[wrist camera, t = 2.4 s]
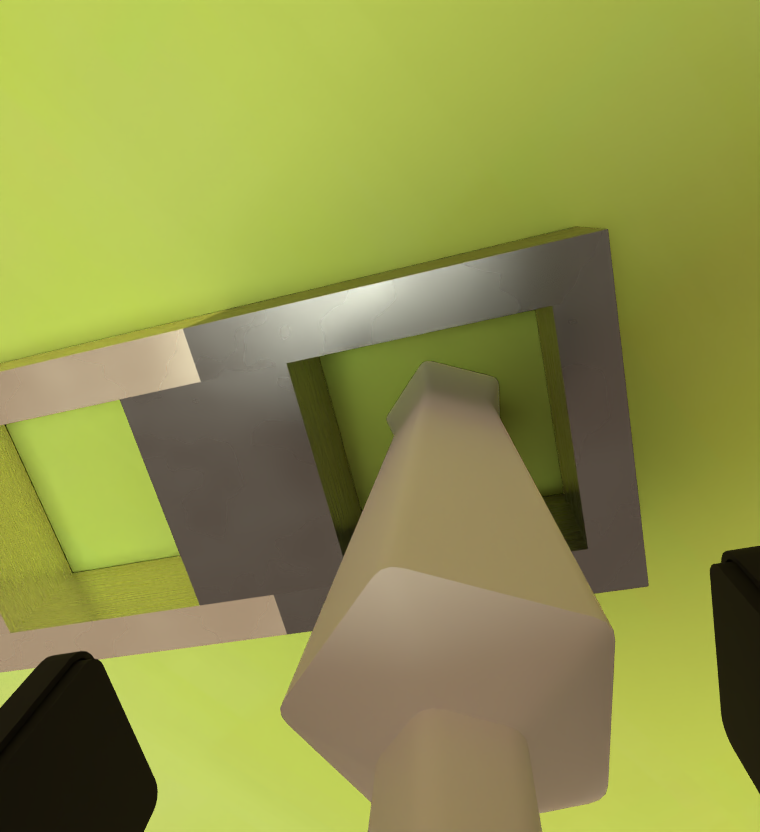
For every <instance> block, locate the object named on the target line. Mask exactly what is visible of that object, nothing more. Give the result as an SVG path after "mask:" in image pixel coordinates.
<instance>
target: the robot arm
mask: <svg viewBox="0 0 760 832" xmlns="http://www.w3.org/2000/svg"><path fill="white" fill-rule="evenodd" d="M710 580H711V593H712V605H713V617H714V630H715V642H716V655H717V667H718V679H719V692H720V704H721V715H722V721H723V725H724V728H725V731H726V734H727V737H728V739H729V741H730V743H731V745H732V747H733V749H734V751H735V752H736V754H737V756H738V757H739V759H740V761H741V763H742V764H743V766H744V768H745V769H746V771H747V773H748V775H749V776H750V778H751V780H752V781H753V783H754V785H755V786H756V788H757V790H758V792H759V793H760V546H756V547H749V548H743V549H736V550H730V551H725V552H724V553H723V555H722V558H721V563H718V564H713V565H711V568H710ZM157 792H158V791H157V784H156V780H155V778H154V776H153V774H152V772H151V769H150V767H149V765H148V763H147V761H146V758H145V756H144V754H143V752H142V750H141V747H140V745H139V743H138V741H137V739H136V736H135V734H134V732H133V730H132V728H131V725H130V723H129V721H128V719H127V717H126V714H125V712H124V710H123V708H122V706H121V703H120V701H119V699H118V697H117V695H116V692H115V690H114V688H113V686H112V684H111V681H110V679H109V677H108V675H107V673H106V670H105V668H104V666H103V664H102V663H101V661H99V660H98V659H94V657H93V656H92V655H91V654H90V653H89V652H87V651H78V652H71V653H65V654H58V655H52V656H49V657H47V658H45V659H44V660H43V661H42V662H41V663H40V664H39V665H38V666H37V667H36V668H35V669H34V671H33V672H32V673H31V674H30V675H29V676H28V677H27V678H26V680H25V681H24V682H23V683H22V684H21V685H20V686H19V688H18V689H17V690H16V691H15V692H14V693H13V694H12V695H11V697H10V698H9V699H8V700H7V701H6V702H5V703H4V704H3V706H2V707H1V708H0V832H144V830H145V828H146V826H147V824H148V822H149V819H150V817H151V815H152V813H153V811H154V808H155V805H156V801H157Z"/></svg>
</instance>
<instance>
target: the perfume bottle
mask: <svg viewBox="0 0 760 832" xmlns="http://www.w3.org/2000/svg"><path fill="white" fill-rule="evenodd" d="M387 423H388V425H389V427H390V429H391V431H392V433H393V434H394V437H393V440H392V442H391V444H390V447H389V449H388V452H387V454H386V456H385V459H384V461H383V464H382V466H381V468H380V471H379V473H378V476H377V478H376V480H375V483H374V485H373V488H372V490H371V492H370V495H369V497H368V500H367V502H366V504H365V507H364V509H363V511H362V514H361V516H360V519H359V521H358V523H357V526H356V528H355V531H354V533H353V535H352V538H351V540H350V543H349V545H348V547H347V550H346V552H345V555H344V557H343V559H342V562H341V564H340V566H339V569H338V571H337V574H336V576H335V578H334V581H333V583H332V586H331V588H330V590H329V593H328V595H327V598H326V600H325V602H324V605H323V607H322V610H321V612H320V614H319V617H318V619H317V622H316V624H315V626H314V629H313V631H312V633H311V636H310V638H309V641H308V643H307V645H306V648H305V650H304V653H303V655H302V657H301V660H300V662H299V665H298V667H297V669H296V672H295V674H294V677H293V679H292V681H291V684H290V686H289V688H288V691H287V693H286V696H285V698H284V700H283V703H282V705H281V708H280V710H281V715H282V717H283V719H284V720H285V721H286V723H287V724H288V725H289V726H290V727H291V728H292V729H293V730H294V731H296V732H297V733H298V734H299V735H300V736H301V737H302V738H303V739H304V740H305V741H306V742H307V743H308V744H309V745H311V746H312V747H313V748H314V749H315V750H316V751H317V752H318V753H319V754H320V755H321V756H322V757H323V758H324V759H325V760H327V761H328V762H329V763H330V764H331V765H332V766H333V767H334V768H335V769H336V770H337V771H338V772H339V773H340V774H341V775H343V776H344V777H345V778H346V779H347V780H348V781H349V782H350V783H351V784H352V785H353V786H354V787H355V788H356V789H357V790H359V791H360V792H361V793H362V794H363V795H364V796H365V797H366V798H367V799H368V800H369V801H370V802H371V811H370V819H369V827H368V832H542V828H541V822H540V816H539V813H544V812H549V811H554V810H559V809H564V808H569V807H574V806H579V805H584V804H589V803H592V802H595V801H597V800H599V799H601V798H602V797H603V796H604V795H605V794H606V791H607V787H608V775H609V754H610V734H611V714H612V693H613V673H614V653H615V637H614V631H613V629H612V627H611V625H610V623H609V621H608V619H607V617H606V616H605V614H604V612H603V610H602V608H601V606H600V604H599V603H598V601H597V599H596V597H595V595H594V593H593V591H592V589H591V588H590V586H589V584H588V582H587V580H586V578H585V576H584V574H583V573H582V571H581V569H580V567H579V565H578V563H577V561H576V560H575V558H574V556H573V554H572V552H571V550H570V548H569V546H568V545H567V543H566V541H565V539H564V537H563V535H562V533H561V531H560V530H559V528H558V526H557V524H556V522H555V520H554V518H553V517H552V515H551V513H550V511H549V509H548V507H547V505H546V503H545V502H544V500H543V498H542V496H541V494H540V492H539V490H538V489H537V487H536V485H535V483H534V481H533V479H532V477H531V475H530V474H529V472H528V470H527V468H526V466H525V464H524V462H523V460H522V459H521V457H520V455H519V453H518V451H517V449H516V447H515V446H514V444H513V442H512V440H511V438H510V436H509V434H508V432H507V431H506V429H505V427H504V425H503V423H502V421H501V419H500V407H499V384H498V381H497V379H496V378H494V377H492V376H489V375H485V374H481V373H477V372H473V371H469V370H465V369H461V368H457V367H453V366H449V365H445V364H441V363H437V362H433V361H425V362H423V363H422V364H421V365H420V366H419V368H418V369H417V371H416V372H415V374H414V375H413V377H412V378H411V380H410V382H409V383H408V385H407V386H406V388H405V389H404V391H403V392H402V394H401V395H400V397H399V398H398V400H397V402H396V403H395V405H394V406H393V408H392V409H391V411H390V412H389V414H388V416H387Z"/></svg>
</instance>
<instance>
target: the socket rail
mask: <svg viewBox="0 0 760 832" xmlns="http://www.w3.org/2000/svg"><path fill="white" fill-rule="evenodd" d="M530 310H535V312H536V319H537V325H538V332H539V338H540V344H541V351H542V357H543V364H544V370H545V376H546V383H547V389H548V396H549V402H550V408H551V415H552V421H553V428H554V434H555V440H556V447H557V453H558V460H559V466H560V472H561V479H562V485H563V492H564V494H557V495H551V496H545V497H542V498H543V500H544V502H545V503H546V505H547V507H548V509H549V511H550V513H551V515H552V517H553V518H554V520H555V522H556V524H557V526H558V528H559V530H560V531H561V533H562V535H563V537H564V539H565V541H566V543H567V545H568V546H569V548H570V550H571V552H572V554H573V556H574V558H575V560H576V561H577V563H578V565H579V567H580V569H581V571H582V573H583V574H584V576H585V578H586V580H587V582H588V584H589V586H590V588H591V589H592V591H593V593H602V592H609V591H617V590H624V589H632V588H640V587H647V586H649V585H648V576H647V567H646V558H645V549H644V541H643V532H642V523H641V514H640V505H639V497H638V488H637V479H636V470H635V462H634V453H633V444H632V435H631V426H630V418H629V409H628V400H627V391H626V383H625V374H624V365H623V356H622V347H621V339H620V330H619V321H618V312H617V303H616V295H615V286H614V277H613V268H612V260H611V251H610V242H609V233H608V229H602V228H589V227H572V228H568V229H563V230H559V231H555V232H551V233H547V234H542V235H538V236H534V237H530V238H525V239H521V240H517V241H513V242H509V243H504V244H500V245H496V246H492V247H488V248H483V249H479V250H475V251H471V252H467V253H462V254H458V255H454V256H450V257H446V258H441V259H437V260H433V261H429V262H425V263H420V264H416V265H412V266H408V267H404V268H399V269H395V270H391V271H387V272H382V273H378V274H374V275H370V276H366V277H361V278H357V279H353V280H349V281H345V282H340V283H336V284H332V285H328V286H324V287H319V288H315V289H311V290H307V291H303V292H298V293H294V294H290V295H286V296H282V297H277V298H273V299H269V300H265V301H260V302H256V303H252V304H248V305H244V306H239V307H235V308H231V309H227V310H223V311H218V312H214V313H210V314H206V315H202V316H197V317H193V318H189V319H185V320H181V321H176V322H172V323H168V324H164V325H160V326H155V327H151V328H147V329H143V330H139V331H134V332H130V333H126V334H122V335H117V336H113V337H109V338H105V339H101V340H96V341H92V342H88V343H84V344H80V345H75V346H71V347H67V348H63V349H59V350H54V351H50V352H46V353H42V354H38V355H33V356H29V357H25V358H21V359H17V360H12V361H8V362H4V363H0V672H7V671H14V670H22V669H29V668H36V667H37V666H38V665H39V664H40V663H41V662H42V661H43V660H44V659H45V658H47V657H49V656H52V655H58V654H65V653H71V652H78V651H87V652H89V653H90V654H91V655H92V656H93V657H94V659H105V658H112V657H120V656H127V655H135V654H142V653H150V652H158V651H165V650H173V649H180V648H188V647H195V646H203V645H210V644H218V643H225V642H233V641H240V640H248V639H255V638H263V637H270V636H278V635H286V634H293V633H301V632H308V631H313V629H314V626H315V624H316V622H317V619H318V617H319V614H320V612H321V610H322V607H323V605H324V602H325V600H326V598H327V595H328V593H329V590H330V588H331V586H332V583H333V581H334V578H335V576H336V574H337V571H338V569H339V566H340V564H341V562H342V559H343V557H344V555H345V552H346V550H347V547H348V545H349V543H350V540H351V538H352V535H353V533H354V531H355V528H356V526H357V523H358V521H359V519H360V516H361V514H362V512H361V509H360V505H359V501H358V498H357V494H356V490H355V487H354V483H353V479H352V476H351V472H350V468H349V465H348V461H347V458H346V454H345V450H344V447H343V443H342V439H341V436H340V432H339V428H338V425H337V421H336V417H335V414H334V410H333V407H332V403H331V399H330V396H329V392H328V388H327V385H326V381H325V377H324V374H323V370H322V366H321V363H320V359H319V356H322V355H327V354H331V353H336V352H341V351H345V350H350V349H355V348H359V347H364V346H368V345H373V344H378V343H382V342H387V341H391V340H396V339H401V338H405V337H410V336H415V335H419V334H424V333H428V332H433V331H438V330H442V329H447V328H451V327H456V326H461V325H465V324H470V323H475V322H479V321H484V320H488V319H493V318H498V317H502V316H507V315H511V314H516V313H521V312H525V311H530ZM119 399H120V401H121V404H122V407H123V409H124V412H125V414H126V417H127V419H128V422H129V425H130V427H131V430H132V432H133V435H134V437H135V440H136V443H137V445H138V448H139V450H140V453H141V455H142V458H143V461H144V463H145V466H146V468H147V471H148V473H149V476H150V479H151V481H152V484H153V486H154V489H155V491H156V494H157V497H158V499H159V502H160V504H161V507H162V509H163V512H164V515H165V517H166V520H167V522H168V525H169V527H170V530H171V533H172V535H173V538H174V540H175V543H176V546H177V548H178V551H179V553H180V556H176V557H170V558H163V559H157V560H151V561H145V562H139V563H133V564H126V565H120V566H114V567H108V568H102V569H96V570H90V571H83V572H77V573H72V571H71V569H70V567H69V565H68V562H67V560H66V558H65V556H64V554H63V551H62V549H61V547H60V545H59V543H58V540H57V538H56V536H55V534H54V532H53V530H52V527H51V525H50V523H49V521H48V519H47V516H46V514H45V512H44V510H43V508H42V505H41V503H40V501H39V499H38V497H37V495H36V492H35V490H34V488H33V486H32V484H31V481H30V479H29V477H28V475H27V473H26V470H25V468H24V466H23V464H22V462H21V460H20V457H19V455H18V453H17V451H16V449H15V446H14V444H13V442H12V440H11V438H10V435H9V433H8V431H7V429H6V427H5V425H4V424H8V423H13V422H18V421H22V420H27V419H32V418H36V417H41V416H45V415H50V414H55V413H59V412H64V411H68V410H73V409H78V408H82V407H87V406H92V405H96V404H101V403H105V402H110V401H115V400H119Z"/></svg>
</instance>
